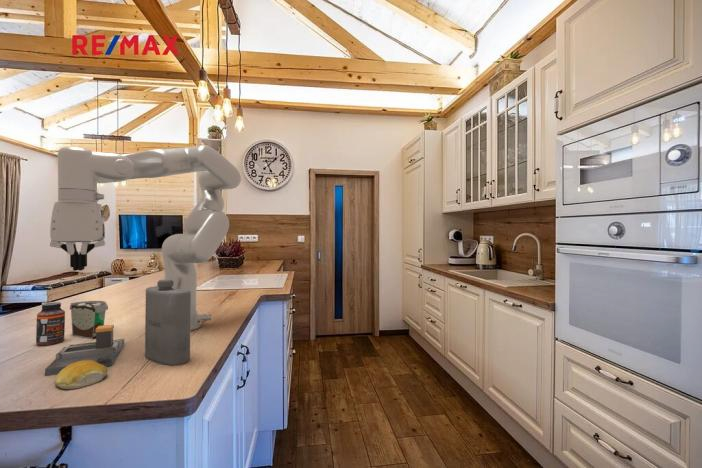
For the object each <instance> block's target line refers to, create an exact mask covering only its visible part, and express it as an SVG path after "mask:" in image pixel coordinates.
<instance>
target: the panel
mask: <svg viewBox="0 0 702 468" xmlns="http://www.w3.org/2000/svg"><path fill="white" fill-rule="evenodd" d="M124 345H125V338H119V339H113V345H112V346H111V347H104V348H96V341H95V342H92V341H91V342H85V343H77V344H70V345H68V346H63V348H62V349H61V350H60V351H58V352H57V353H56V354H55V359H54V360H53V361H52V362H51V363H50V364H49V365H48V366H47V367H45V368H44V376H46V377H47V376H51V375H53V376H54V375H58V373H59V372H60V371H61V370H62V369H64V368H65V367H67V366H68V365H70V364H72V363H75V362H78V361H83V360H93V361H95V362H97V363H99V364H102V365H104V366H105V367H106V368H107V367H112V366H113V365H114V363H115V361H116V360H117V358H118V356H119V354H120V353H121V351H122V349H123V347H124Z"/></svg>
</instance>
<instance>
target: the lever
mask: <svg viewBox="0 0 702 468" xmlns="http://www.w3.org/2000/svg"><path fill="white" fill-rule="evenodd" d="M114 328H115V325H114V324H107V325H105V324H104V326H98V327H97V328H96V338H95V342H96V348H104V347H111V346H112V345H113V340H114Z"/></svg>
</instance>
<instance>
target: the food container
mask: <svg viewBox="0 0 702 468" xmlns="http://www.w3.org/2000/svg"><path fill="white" fill-rule="evenodd" d="M69 310H70V314H71V315H70V316H71V332H72V334H71V335H73V337H77V336H78V337H77V338H83V337H84V338H85V339H88V340H89V339H90V340H96V328H97V327H98V326H104V325H105V317H106V311H107V310H109V305H108V303H107V302H106V301H104V300H84V301H76V302H71V303H70V305H69Z"/></svg>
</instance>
